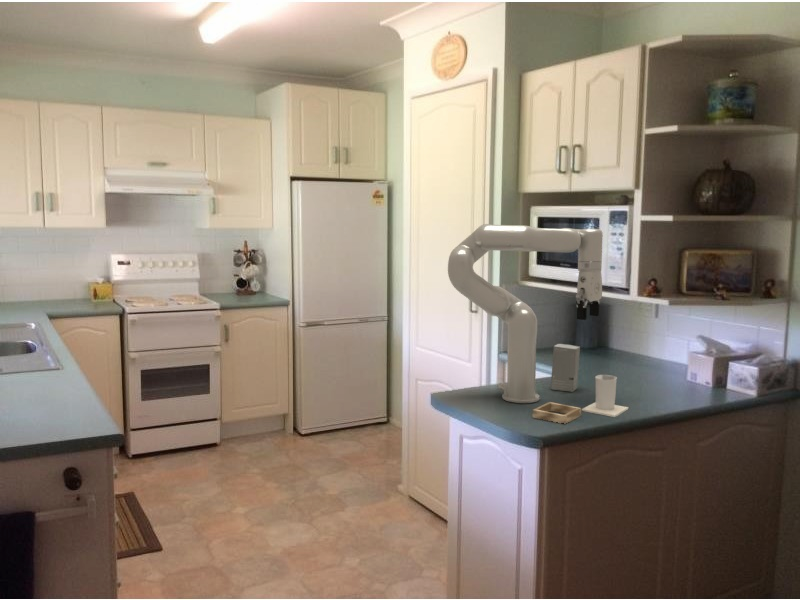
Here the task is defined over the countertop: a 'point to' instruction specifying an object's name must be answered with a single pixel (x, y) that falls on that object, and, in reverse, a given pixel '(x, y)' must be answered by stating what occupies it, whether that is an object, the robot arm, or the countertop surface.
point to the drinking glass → (605, 391)
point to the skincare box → (565, 367)
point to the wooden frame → (569, 411)
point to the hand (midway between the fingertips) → (588, 317)
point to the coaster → (612, 413)
